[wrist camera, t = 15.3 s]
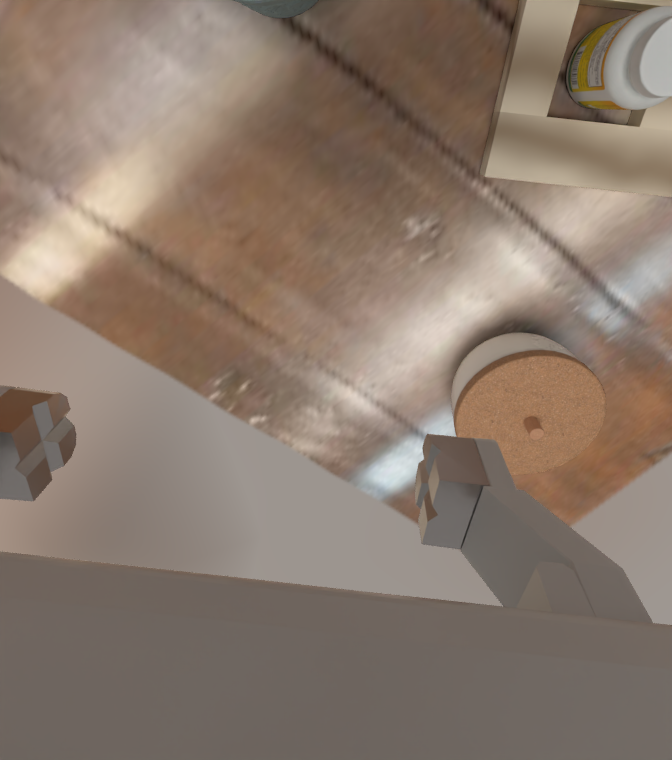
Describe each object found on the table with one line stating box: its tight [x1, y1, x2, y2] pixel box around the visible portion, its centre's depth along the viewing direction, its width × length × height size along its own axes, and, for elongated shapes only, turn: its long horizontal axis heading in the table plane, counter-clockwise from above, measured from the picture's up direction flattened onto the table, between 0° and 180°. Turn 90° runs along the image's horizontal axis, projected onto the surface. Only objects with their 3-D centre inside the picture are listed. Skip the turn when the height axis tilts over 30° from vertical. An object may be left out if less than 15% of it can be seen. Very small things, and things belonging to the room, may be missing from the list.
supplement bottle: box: [566, 6, 672, 110], centre depth 30 cm, size 5×5×10 cm
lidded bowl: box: [451, 333, 606, 475], centre depth 43 cm, size 13×13×11 cm
